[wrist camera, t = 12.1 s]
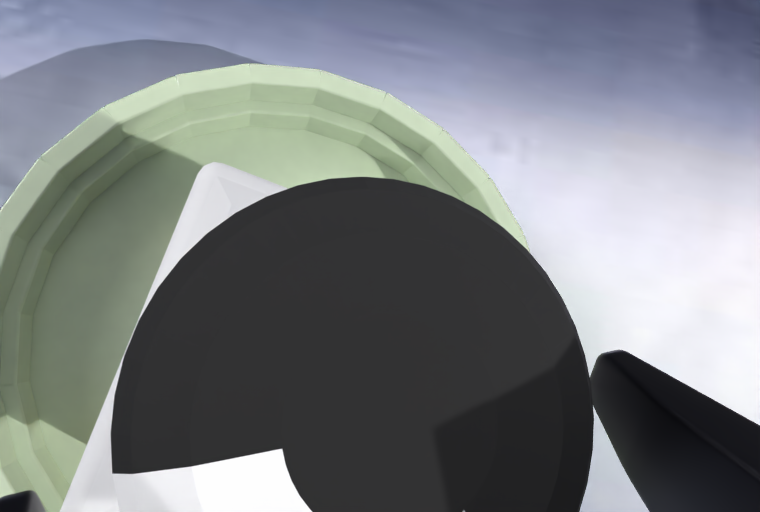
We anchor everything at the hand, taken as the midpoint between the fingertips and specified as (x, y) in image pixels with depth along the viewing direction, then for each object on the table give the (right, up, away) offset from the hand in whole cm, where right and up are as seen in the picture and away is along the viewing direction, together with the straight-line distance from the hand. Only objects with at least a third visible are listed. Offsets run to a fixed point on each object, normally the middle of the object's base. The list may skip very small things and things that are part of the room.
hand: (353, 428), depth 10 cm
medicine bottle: (-3, -1, +9) cm, 9 cm away
